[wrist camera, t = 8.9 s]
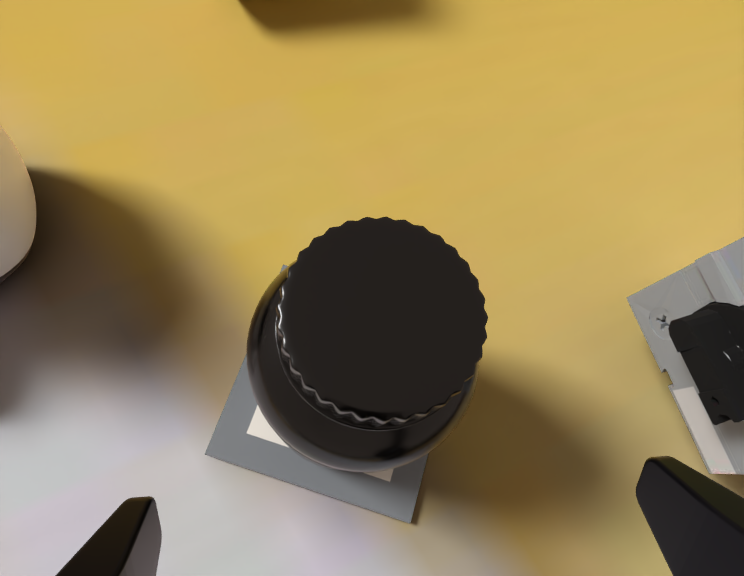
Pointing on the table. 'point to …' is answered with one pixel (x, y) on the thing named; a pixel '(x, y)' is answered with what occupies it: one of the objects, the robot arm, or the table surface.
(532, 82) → the table surface
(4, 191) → the white and brown mug
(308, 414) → the supplement bottle
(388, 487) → the grey mat
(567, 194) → the table surface
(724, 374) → the circuit breaker
